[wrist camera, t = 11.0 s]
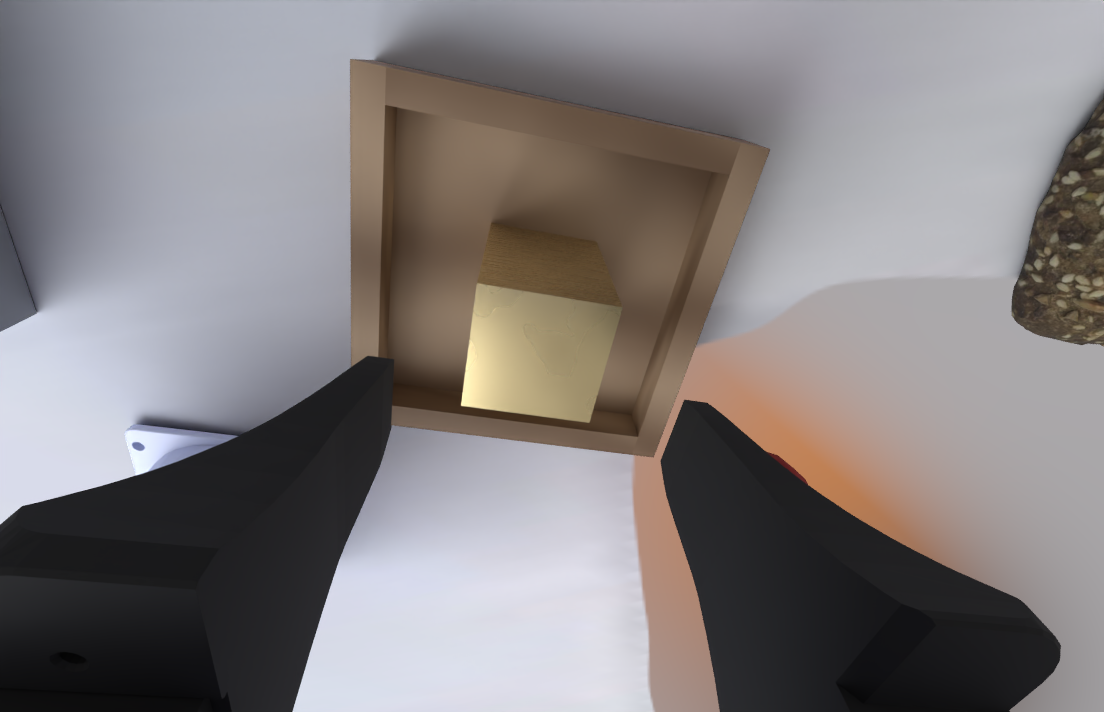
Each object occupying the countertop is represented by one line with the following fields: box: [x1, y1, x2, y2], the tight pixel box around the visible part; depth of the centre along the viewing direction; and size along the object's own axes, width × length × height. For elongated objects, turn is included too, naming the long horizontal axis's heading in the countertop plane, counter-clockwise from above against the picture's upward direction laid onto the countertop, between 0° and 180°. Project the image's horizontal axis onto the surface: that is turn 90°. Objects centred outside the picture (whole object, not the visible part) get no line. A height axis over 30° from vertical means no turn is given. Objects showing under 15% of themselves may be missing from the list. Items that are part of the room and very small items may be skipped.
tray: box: [350, 59, 770, 457], centre depth 19 cm, size 13×13×2 cm
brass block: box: [461, 222, 623, 423], centre depth 17 cm, size 4×4×6 cm
